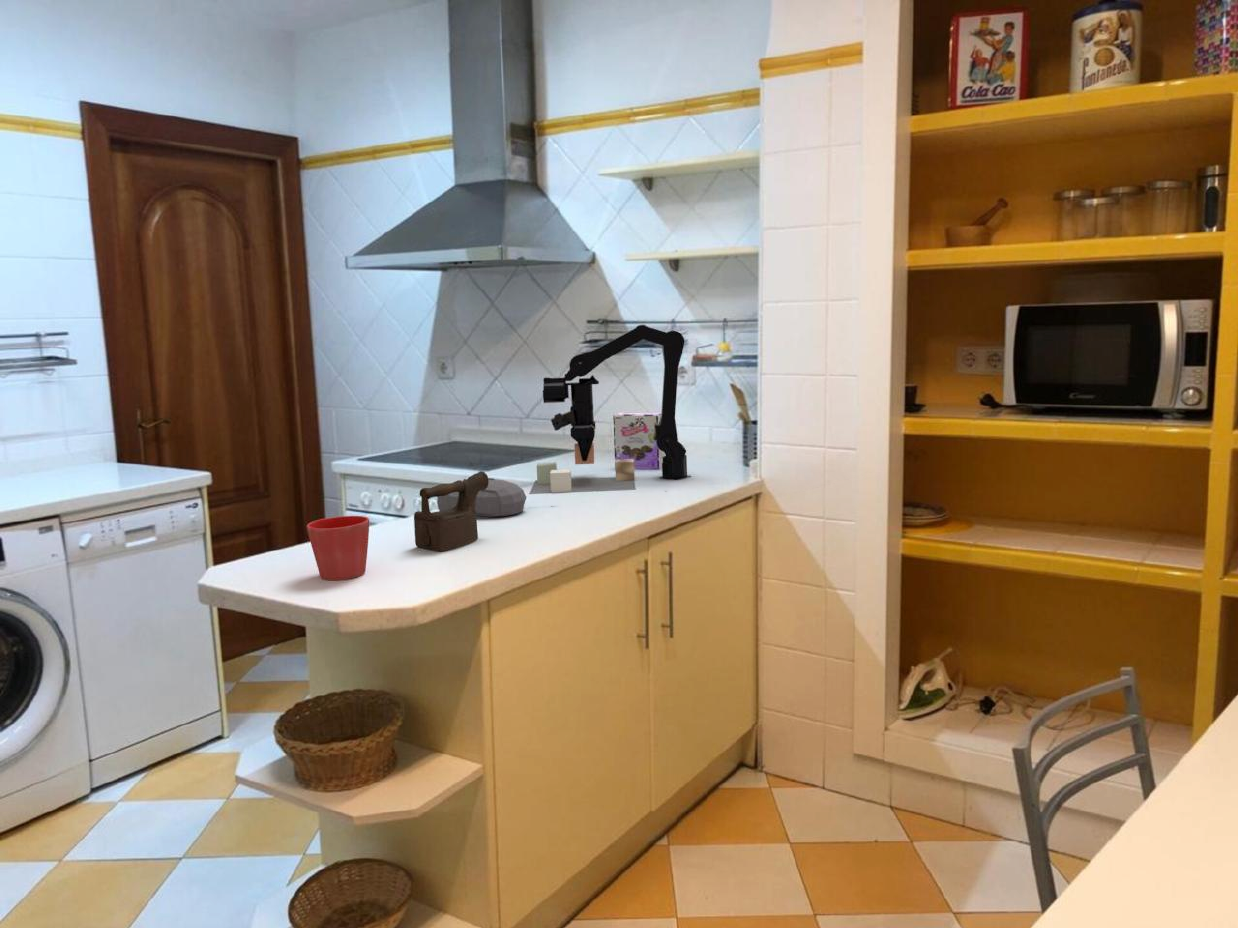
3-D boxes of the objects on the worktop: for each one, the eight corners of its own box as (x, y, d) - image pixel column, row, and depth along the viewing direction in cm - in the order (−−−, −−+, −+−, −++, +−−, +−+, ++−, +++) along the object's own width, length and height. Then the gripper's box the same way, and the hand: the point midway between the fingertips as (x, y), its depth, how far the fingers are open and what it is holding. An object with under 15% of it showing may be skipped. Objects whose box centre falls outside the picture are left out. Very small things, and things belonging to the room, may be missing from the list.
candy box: (614, 470, 278) (612, 414, 276) (621, 467, 283) (619, 412, 281) (659, 471, 273) (657, 414, 270) (666, 468, 278) (664, 412, 276)
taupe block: (571, 488, 247) (570, 469, 247) (570, 491, 243) (569, 472, 242) (552, 489, 247) (551, 470, 247) (551, 492, 242) (550, 473, 242)
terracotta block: (594, 460, 261) (593, 442, 260) (593, 463, 256) (593, 445, 255) (575, 461, 261) (575, 443, 260) (575, 464, 256) (574, 445, 255)
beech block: (634, 477, 261) (633, 459, 261) (634, 480, 256) (633, 461, 256) (615, 478, 261) (615, 459, 261) (615, 480, 256) (615, 462, 256)
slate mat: (633, 478, 263) (633, 476, 263) (635, 491, 242) (635, 489, 242) (535, 482, 263) (535, 480, 263) (529, 495, 242) (528, 493, 242)
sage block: (557, 480, 261) (556, 462, 261) (556, 483, 256) (555, 464, 256) (538, 481, 261) (537, 462, 261) (537, 484, 256) (536, 465, 256)
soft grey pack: (430, 518, 219) (509, 521, 212) (428, 482, 218) (507, 484, 211) (463, 505, 233) (538, 508, 226) (461, 471, 232) (536, 473, 225)
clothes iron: (500, 537, 196) (496, 472, 194) (437, 553, 184) (433, 484, 182) (475, 533, 201) (471, 469, 199) (412, 548, 189) (408, 480, 187)
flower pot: (297, 581, 167) (292, 526, 166) (337, 565, 177) (332, 514, 176) (348, 584, 163) (343, 529, 162) (385, 568, 173) (381, 516, 172)
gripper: (553, 400, 265) (556, 456, 267) (549, 405, 246) (552, 465, 249) (594, 398, 265) (596, 454, 267) (593, 404, 246) (595, 464, 249)
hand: (584, 459), depth 258 cm, fingers closed on terracotta block, 5 cm apart
